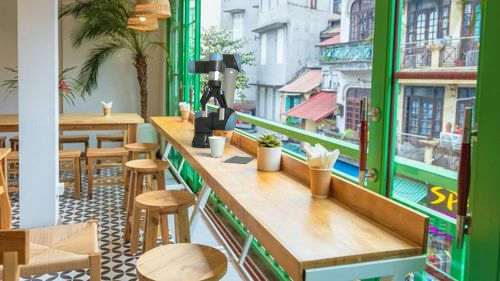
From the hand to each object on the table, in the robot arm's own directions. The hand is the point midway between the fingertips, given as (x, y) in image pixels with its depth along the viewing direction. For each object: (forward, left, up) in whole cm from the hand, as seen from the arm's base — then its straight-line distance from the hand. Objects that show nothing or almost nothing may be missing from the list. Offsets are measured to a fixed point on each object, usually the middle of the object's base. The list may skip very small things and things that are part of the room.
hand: (213, 118), depth 255 cm
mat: (+7, +18, -21) cm, 29 cm away
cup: (+2, +3, -21) cm, 22 cm away
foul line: (+6, +11, -21) cm, 25 cm away
